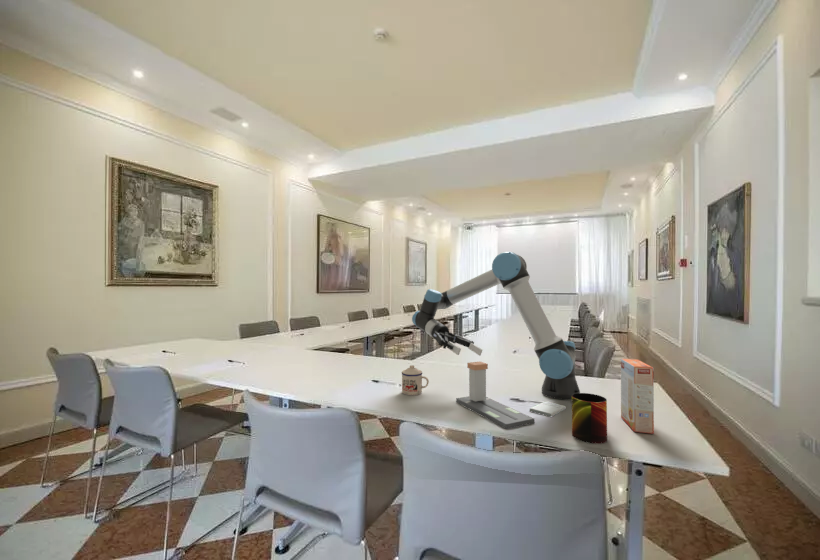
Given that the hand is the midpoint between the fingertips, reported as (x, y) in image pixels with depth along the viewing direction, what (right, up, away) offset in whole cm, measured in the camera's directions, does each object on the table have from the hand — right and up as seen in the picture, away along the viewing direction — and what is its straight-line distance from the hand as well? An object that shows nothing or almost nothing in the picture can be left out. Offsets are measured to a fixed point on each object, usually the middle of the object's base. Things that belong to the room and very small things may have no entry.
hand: (470, 352), depth 145 cm
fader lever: (+2, -17, -5) cm, 18 cm away
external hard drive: (+27, -20, -12) cm, 35 cm away
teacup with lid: (-22, -20, +10) cm, 32 cm away
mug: (+31, -19, -34) cm, 50 cm away
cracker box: (+51, -19, -27) cm, 60 cm away
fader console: (+6, -19, -14) cm, 24 cm away
